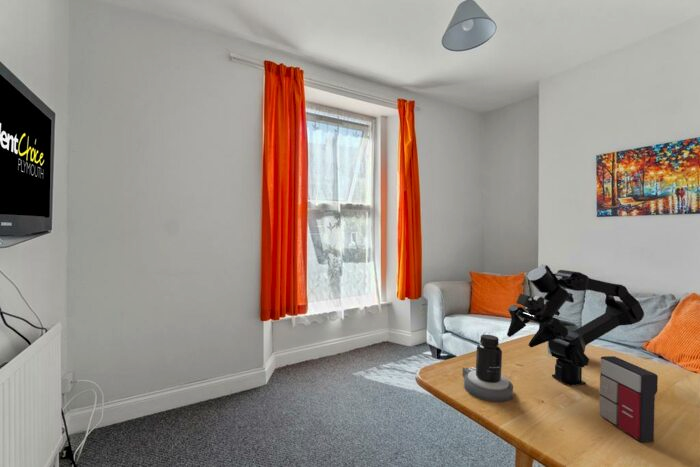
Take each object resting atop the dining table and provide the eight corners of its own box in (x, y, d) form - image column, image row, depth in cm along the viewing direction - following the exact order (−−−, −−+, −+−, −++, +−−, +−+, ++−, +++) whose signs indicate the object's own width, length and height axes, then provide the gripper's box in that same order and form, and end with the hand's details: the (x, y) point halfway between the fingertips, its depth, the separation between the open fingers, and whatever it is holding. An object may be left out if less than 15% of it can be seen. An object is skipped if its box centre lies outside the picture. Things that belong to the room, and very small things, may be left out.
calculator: (596, 414, 82) (597, 355, 82) (612, 414, 82) (613, 355, 82) (638, 443, 71) (640, 375, 71) (656, 442, 71) (658, 374, 71)
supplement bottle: (494, 386, 89) (495, 342, 89) (471, 377, 94) (472, 336, 94) (505, 378, 93) (506, 337, 93) (482, 371, 98) (483, 331, 98)
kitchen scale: (489, 374, 104) (489, 363, 104) (523, 400, 88) (523, 387, 88) (451, 376, 102) (451, 365, 102) (479, 403, 86) (479, 390, 86)
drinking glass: (539, 349, 128) (540, 319, 128) (560, 348, 130) (561, 318, 130) (562, 359, 118) (562, 327, 118) (584, 357, 120) (584, 325, 120)
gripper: (513, 280, 107) (482, 315, 105) (559, 290, 89) (524, 332, 87) (533, 302, 109) (504, 337, 107) (583, 317, 90) (549, 359, 88)
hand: (518, 340), depth 97 cm, fingers open, 9 cm apart
